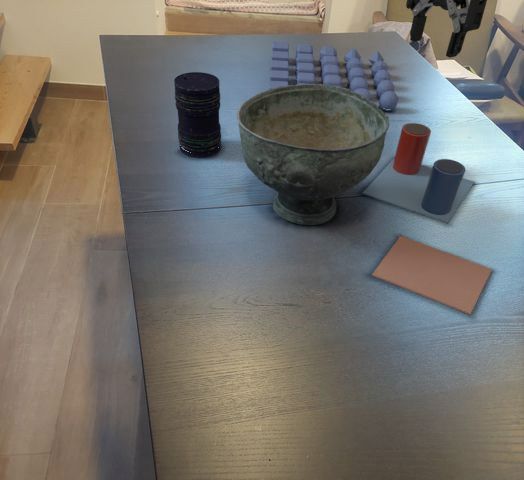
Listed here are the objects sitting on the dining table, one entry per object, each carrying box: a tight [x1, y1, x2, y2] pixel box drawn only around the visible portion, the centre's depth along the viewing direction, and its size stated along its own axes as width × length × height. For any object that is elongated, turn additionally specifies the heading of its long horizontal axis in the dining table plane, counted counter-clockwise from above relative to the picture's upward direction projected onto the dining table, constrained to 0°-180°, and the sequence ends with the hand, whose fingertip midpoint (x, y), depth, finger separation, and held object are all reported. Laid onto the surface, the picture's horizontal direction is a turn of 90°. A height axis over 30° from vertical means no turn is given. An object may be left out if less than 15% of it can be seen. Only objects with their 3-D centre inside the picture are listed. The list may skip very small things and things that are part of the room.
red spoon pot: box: [393, 122, 432, 175], centre depth 114 cm, size 6×6×9 cm
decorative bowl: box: [236, 83, 390, 226], centre depth 98 cm, size 26×26×20 cm
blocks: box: [268, 41, 399, 112], centre depth 146 cm, size 35×34×5 cm
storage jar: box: [173, 71, 222, 159], centre depth 114 cm, size 10×10×15 cm
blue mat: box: [362, 158, 475, 224], centre depth 112 cm, size 19×19×1 cm
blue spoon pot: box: [421, 158, 466, 215], centre depth 103 cm, size 6×6×9 cm
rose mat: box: [371, 235, 493, 316], centre depth 93 cm, size 18×14×1 cm
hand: (432, 48), depth 88 cm, fingers open, 8 cm apart
